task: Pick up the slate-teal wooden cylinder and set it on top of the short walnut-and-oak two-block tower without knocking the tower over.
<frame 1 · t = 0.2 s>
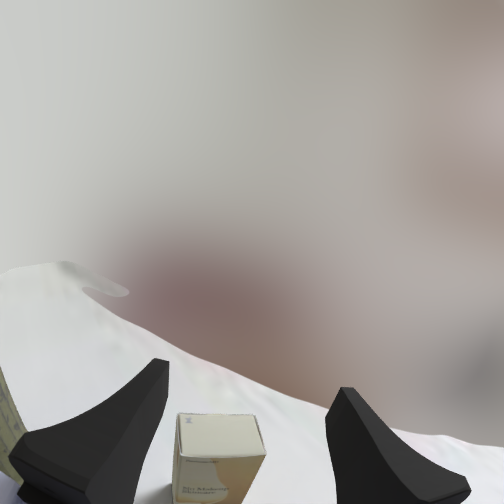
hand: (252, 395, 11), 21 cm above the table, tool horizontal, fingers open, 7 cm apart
skincare box: (204, 498, 22), on the table
thermos: (24, 486, 15), on the table
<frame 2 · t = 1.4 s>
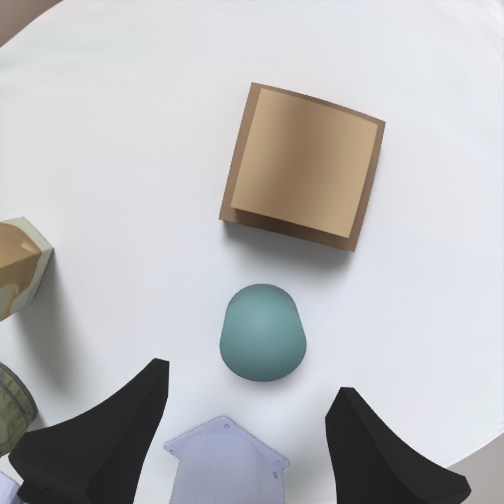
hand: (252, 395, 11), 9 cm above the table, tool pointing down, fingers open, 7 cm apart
oak block: (300, 164, 16), point 2 cm above the table, touching walnut slab
skincare box: (28, 258, 19), on the table
walnut slab: (300, 167, 18), on the table, touching oak block
thermos: (11, 390, 23), on the table
teal cylinder: (261, 317, 20), on the table
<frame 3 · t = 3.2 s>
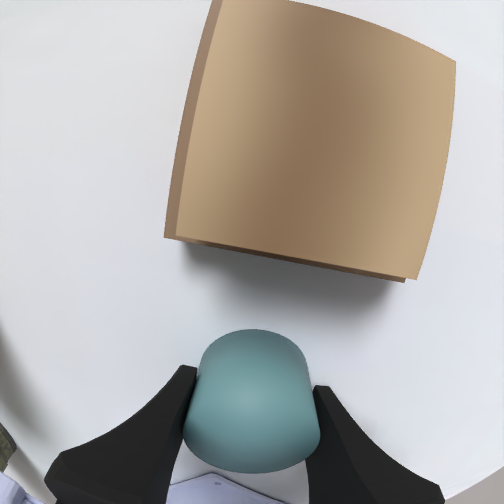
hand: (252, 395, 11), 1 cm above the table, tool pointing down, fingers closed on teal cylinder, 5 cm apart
oak block: (316, 136, 8), point 2 cm above the table, touching walnut slab
walnut slab: (308, 137, 10), on the table, touching oak block
teal cylinder: (253, 373, 13), on the table, touching gripper
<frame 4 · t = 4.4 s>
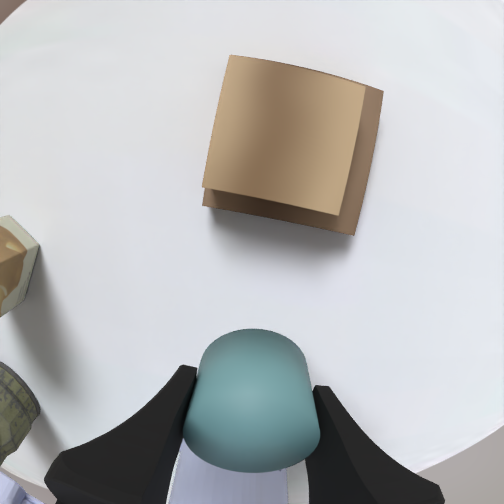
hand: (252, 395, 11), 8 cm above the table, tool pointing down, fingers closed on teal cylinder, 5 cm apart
oak block: (282, 135, 14), point 2 cm above the table
skincare box: (17, 256, 18), on the table
walnut slab: (291, 144, 16), on the table
thermos: (13, 388, 24), on the table
teal cylinder: (253, 373, 13), point 6 cm above the table, touching gripper
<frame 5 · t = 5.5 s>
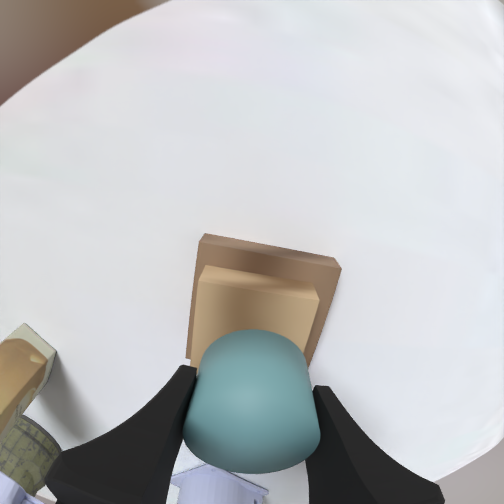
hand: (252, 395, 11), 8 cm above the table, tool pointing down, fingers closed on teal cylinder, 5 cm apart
oak block: (250, 320, 17), point 2 cm above the table
skincare box: (36, 352, 22), on the table
walnut slab: (258, 300, 20), on the table
thermos: (36, 434, 27), on the table
teal cylinder: (253, 373, 13), point 7 cm above the table, touching gripper
when the fingers open (7 cm above the table, at t = 6.6 s): teal cylinder drops 2 cm, resting on oak block.
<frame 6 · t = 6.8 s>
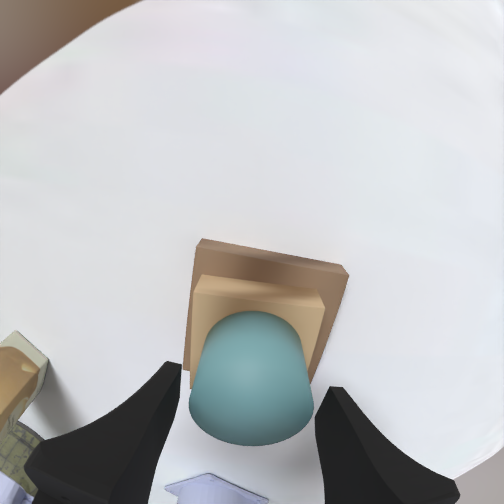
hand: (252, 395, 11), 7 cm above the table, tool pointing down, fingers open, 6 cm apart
oak block: (252, 331, 16), point 2 cm above the table, touching teal cylinder, walnut slab
skincare box: (29, 360, 20), on the table
walnut slab: (259, 309, 18), on the table, touching oak block
thermos: (32, 440, 26), on the table
teal cylinder: (252, 353, 14), point 4 cm above the table, touching oak block
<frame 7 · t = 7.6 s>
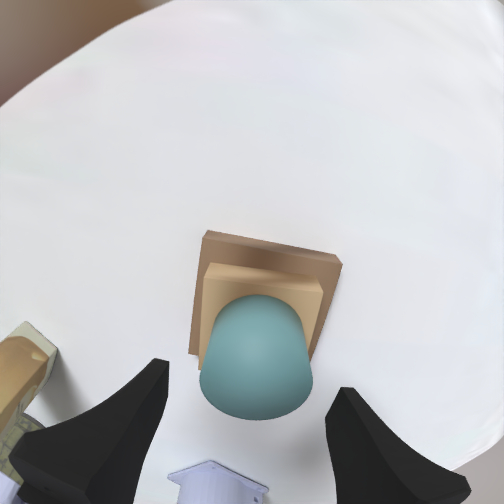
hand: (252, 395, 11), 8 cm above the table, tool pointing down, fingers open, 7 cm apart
oak block: (256, 315, 18), point 2 cm above the table, touching teal cylinder, walnut slab
skincare box: (38, 350, 22), on the table
walnut slab: (260, 296, 20), on the table, touching oak block
thermos: (37, 432, 27), on the table
teal cylinder: (257, 334, 16), point 4 cm above the table, touching oak block
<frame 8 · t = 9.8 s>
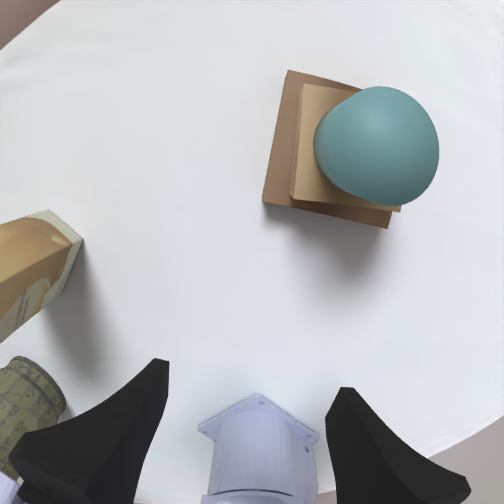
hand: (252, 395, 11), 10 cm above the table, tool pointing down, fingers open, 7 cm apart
oak block: (345, 149, 16), point 2 cm above the table, touching teal cylinder, walnut slab
skincare box: (55, 251, 20), on the table
walnut slab: (333, 150, 18), on the table, touching oak block
thermos: (38, 384, 26), on the table
teal cylinder: (358, 147, 14), point 4 cm above the table, touching oak block
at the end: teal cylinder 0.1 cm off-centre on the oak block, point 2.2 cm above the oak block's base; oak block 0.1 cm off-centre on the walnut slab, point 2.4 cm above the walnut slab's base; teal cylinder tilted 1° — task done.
